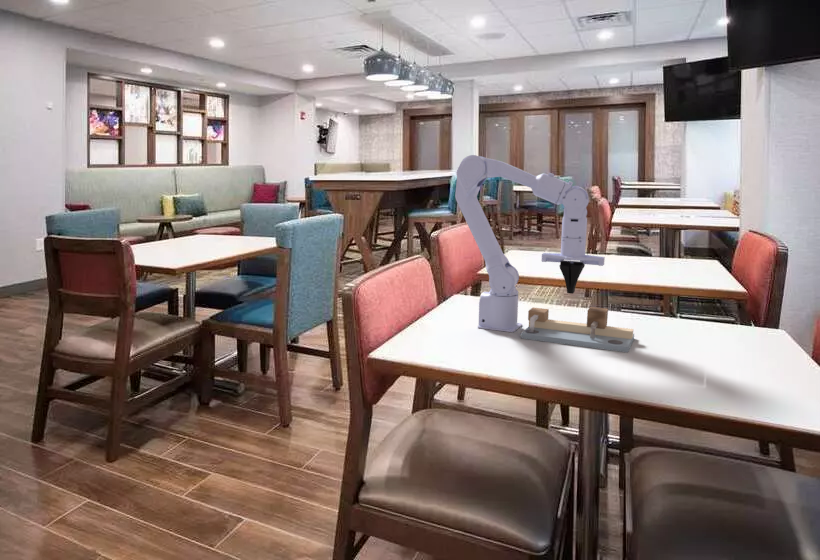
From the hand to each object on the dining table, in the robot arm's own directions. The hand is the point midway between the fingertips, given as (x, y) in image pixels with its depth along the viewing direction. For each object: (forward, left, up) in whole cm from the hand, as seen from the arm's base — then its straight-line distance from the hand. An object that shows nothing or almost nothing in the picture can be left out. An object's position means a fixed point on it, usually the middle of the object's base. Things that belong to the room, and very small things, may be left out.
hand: (570, 292), depth 139 cm
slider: (+7, -5, -8) cm, 12 cm away
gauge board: (+3, -5, -10) cm, 11 cm away
